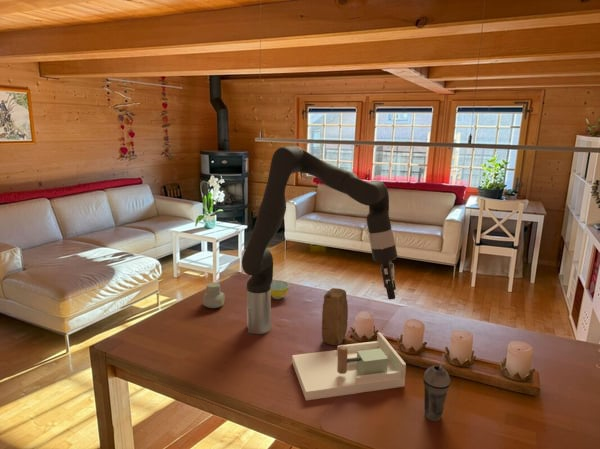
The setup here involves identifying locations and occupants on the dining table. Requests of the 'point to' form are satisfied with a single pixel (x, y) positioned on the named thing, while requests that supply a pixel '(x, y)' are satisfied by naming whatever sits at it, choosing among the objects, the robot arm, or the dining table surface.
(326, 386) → the shelf
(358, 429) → the dining table surface
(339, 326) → the brown tall faceted piece
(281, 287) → the bowl
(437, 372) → the beverage cup
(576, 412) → the dining table surface
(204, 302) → the air freshener
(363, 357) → the pull block
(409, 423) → the dining table surface
